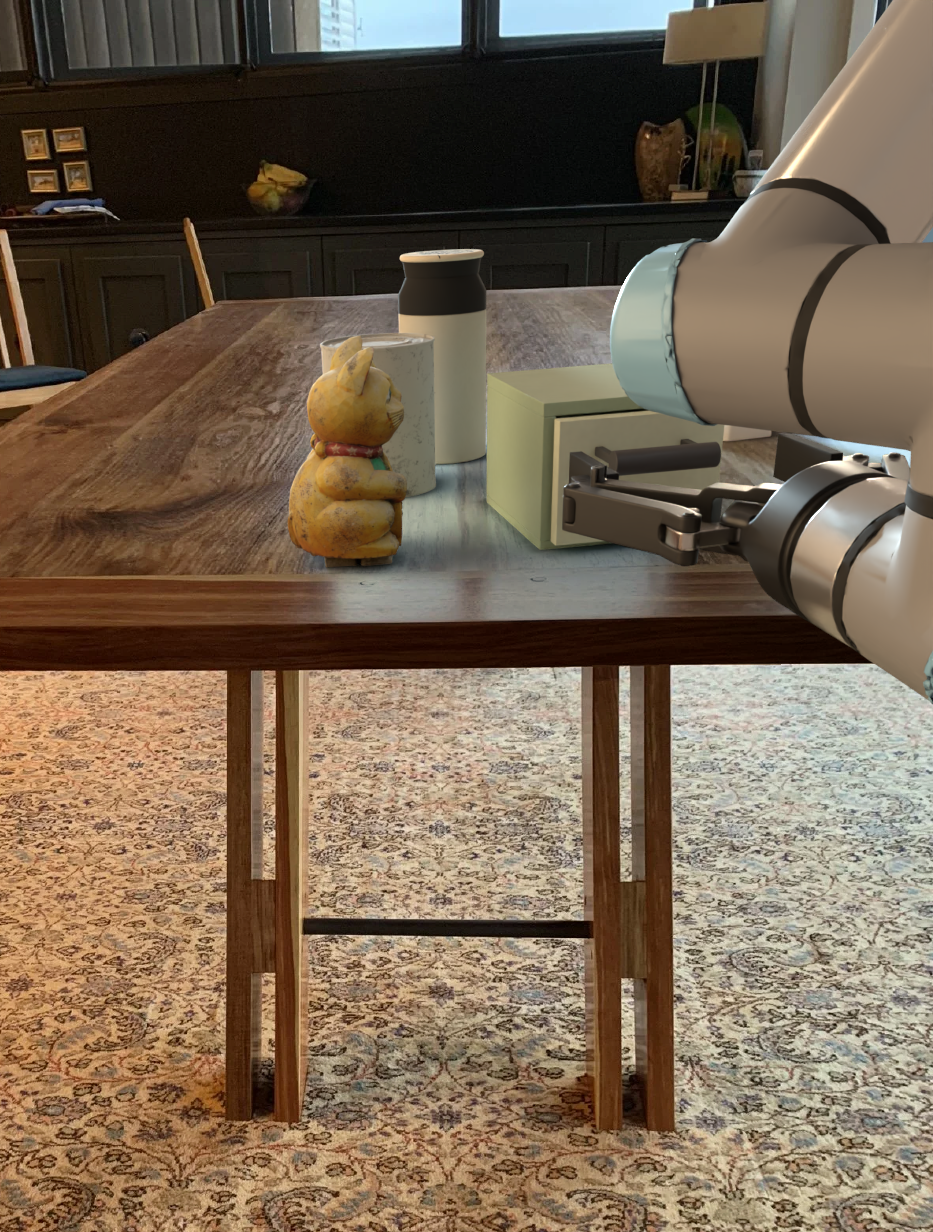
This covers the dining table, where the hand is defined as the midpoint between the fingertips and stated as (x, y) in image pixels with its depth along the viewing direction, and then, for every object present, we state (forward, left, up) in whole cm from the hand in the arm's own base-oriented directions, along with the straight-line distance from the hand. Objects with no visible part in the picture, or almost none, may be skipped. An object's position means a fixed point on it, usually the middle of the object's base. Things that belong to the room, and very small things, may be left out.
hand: (678, 464), depth 75 cm
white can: (+28, -19, -8) cm, 35 cm away
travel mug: (+27, -32, -8) cm, 43 cm away
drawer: (+6, -9, -6) cm, 12 cm away
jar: (+3, -47, -8) cm, 48 cm away
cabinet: (+8, -13, -7) cm, 17 cm away
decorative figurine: (+22, +2, -8) cm, 24 cm away
